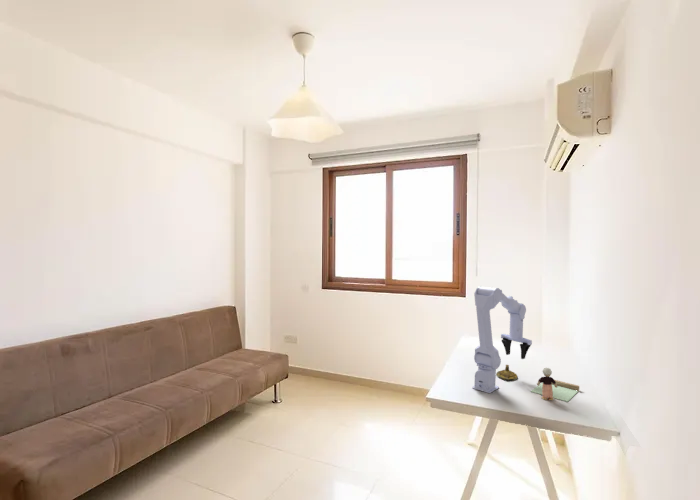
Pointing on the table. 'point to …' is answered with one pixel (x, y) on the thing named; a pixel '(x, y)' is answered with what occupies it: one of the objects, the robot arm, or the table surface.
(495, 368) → the robot arm
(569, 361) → the table surface
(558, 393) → the felt mat
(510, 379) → the seal
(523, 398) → the table surface
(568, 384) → the beech stop strip
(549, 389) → the grandmother figurine
